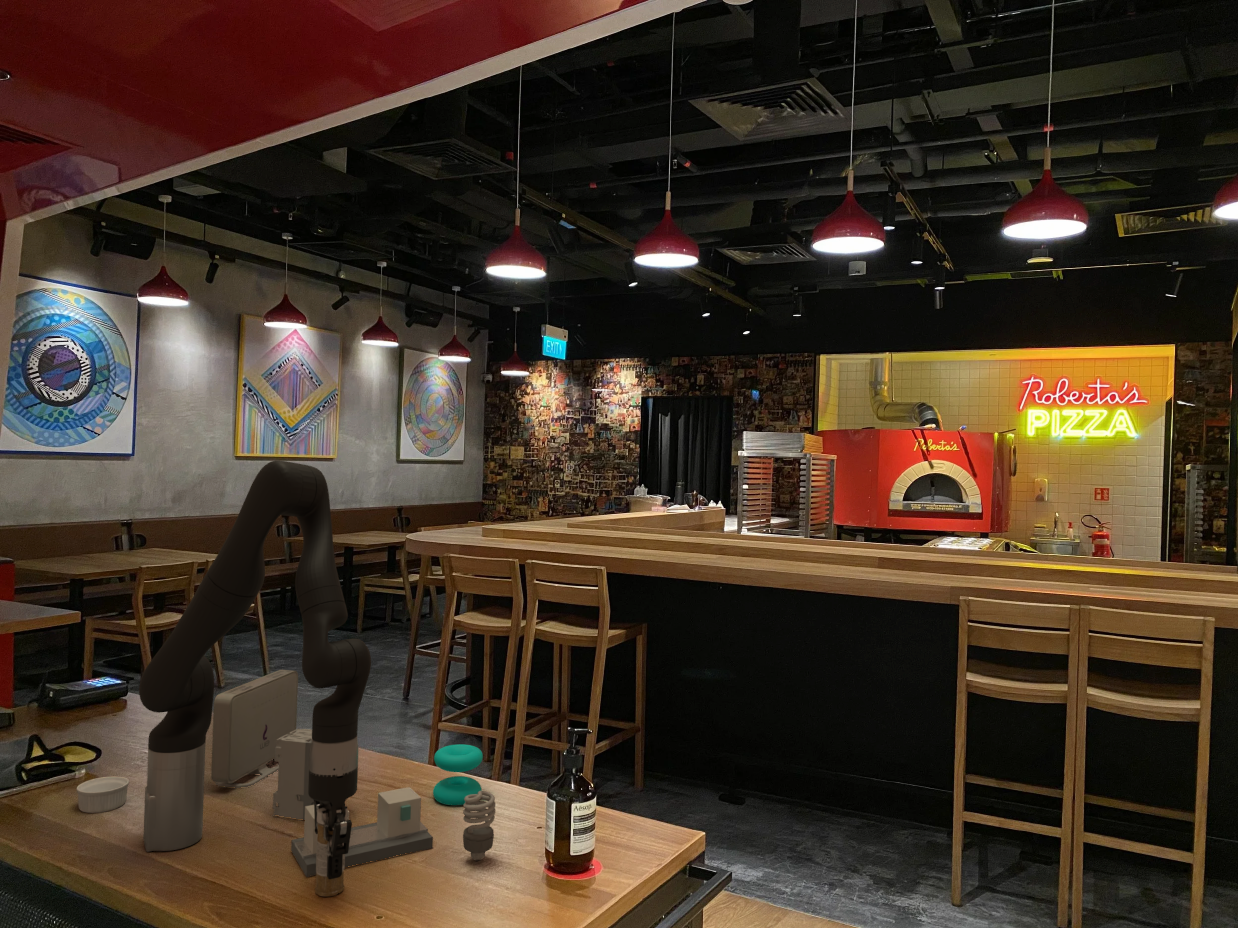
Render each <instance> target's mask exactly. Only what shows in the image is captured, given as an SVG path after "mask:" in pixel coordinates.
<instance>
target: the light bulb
mask: <svg viewBox="0 0 1238 928" xmlns="http://www.w3.org/2000/svg"><path fill="white" fill-rule="evenodd" d="M464 800H465V803H464V805H462V806H463V811H462V814H463V821H464V822H465V823H468V824H472V825H469V826H466V827H465V828H464V830H463V834H462V839H463V840H462V841H463V843H462V844H463V849H464V850H465V851H467V852H469V853H470V858H471V859H472V860H473V861H476V862H479V861H481V860H482V859H484V858H485V857H486V853H487V852H488V851H490V850H491V849H492V847H493V845H494V837H495V833H494V829H493V828H492V826H491V824H493V822H494V821H495V817H496V816H495V814H496V802H495V800H496V797H495V795H494V794H493V793H492V792H489V791H487V790H486V791H485V790H482V791H479V792H478V794H472V795H467V796H466V797H465V799H464Z"/></svg>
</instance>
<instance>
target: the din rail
mask: <svg viewBox="0 0 1238 928" xmlns="http://www.w3.org/2000/svg"><path fill="white" fill-rule="evenodd" d="M425 832H429V828H428V827H426V825H425V824H424V823H423V822H421V821H420V831H417V832H412V833H408V834H403V835H398V836H394V837H389V838H387V836H386V835H385V834H384V833H383V832H382V831H381V829H380V828H379V827H378V826H372V827H367V828H362V829H358V830H353V831H351V835H350V842H349V849H352V848H356V847H361V846H365V845H370V844H375V843H379V842H384V841H388V840H393V839H397V838H402V837H407V836H411V835H416V834H420V833H425ZM295 846H296V848H297V850H298V851H299V853H300V855H301V856H302V858H303V859H306V858H311V857H315V856H316V854H312V853H311V851H310V849H309V848H308V846H307V845H306V843H305V842H304V841H300V842H295Z"/></svg>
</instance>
